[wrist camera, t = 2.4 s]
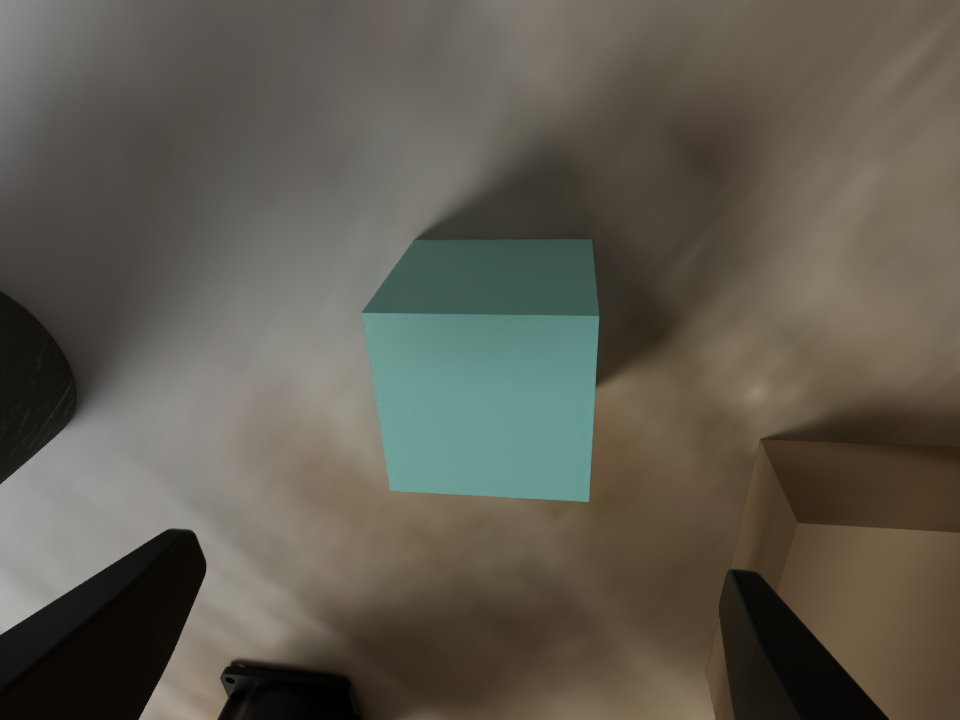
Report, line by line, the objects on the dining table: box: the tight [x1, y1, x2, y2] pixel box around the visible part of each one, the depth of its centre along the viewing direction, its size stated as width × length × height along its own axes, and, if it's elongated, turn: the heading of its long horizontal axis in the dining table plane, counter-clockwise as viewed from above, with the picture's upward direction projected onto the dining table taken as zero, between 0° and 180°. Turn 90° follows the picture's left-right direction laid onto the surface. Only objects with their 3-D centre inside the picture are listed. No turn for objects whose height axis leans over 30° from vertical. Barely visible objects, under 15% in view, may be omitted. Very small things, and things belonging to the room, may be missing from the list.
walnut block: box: [706, 439, 960, 720], centre depth 19 cm, size 12×12×4 cm
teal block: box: [362, 239, 599, 502], centre depth 16 cm, size 5×5×5 cm
